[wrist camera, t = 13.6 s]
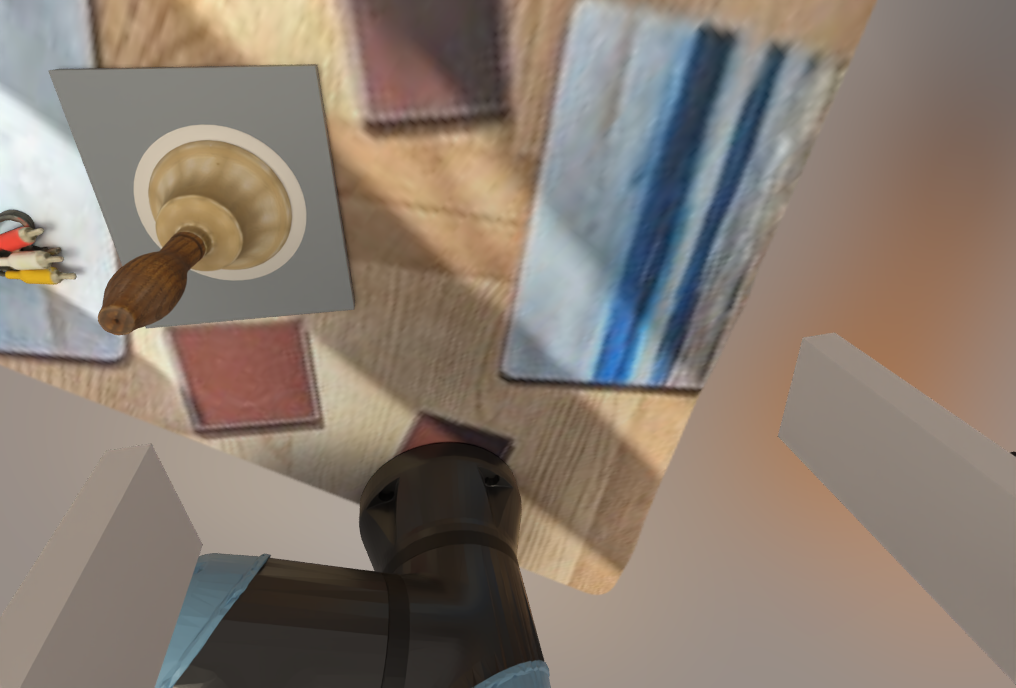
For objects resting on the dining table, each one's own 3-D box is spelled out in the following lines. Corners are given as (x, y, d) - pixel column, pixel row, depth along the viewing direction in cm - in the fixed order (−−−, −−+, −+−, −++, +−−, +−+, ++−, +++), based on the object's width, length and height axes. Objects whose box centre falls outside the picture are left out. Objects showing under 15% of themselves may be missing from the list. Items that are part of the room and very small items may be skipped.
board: (354, 302, 42) (354, 309, 41) (152, 320, 39) (145, 329, 38) (317, 64, 34) (315, 65, 32) (58, 69, 31) (47, 70, 30)
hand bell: (181, 278, 37) (65, 426, 23) (124, 150, 33) (-58, 240, 19) (307, 257, 38) (266, 388, 24) (269, 130, 34) (192, 202, 20)
